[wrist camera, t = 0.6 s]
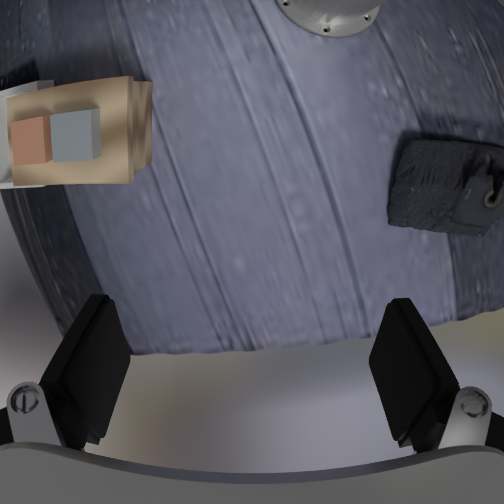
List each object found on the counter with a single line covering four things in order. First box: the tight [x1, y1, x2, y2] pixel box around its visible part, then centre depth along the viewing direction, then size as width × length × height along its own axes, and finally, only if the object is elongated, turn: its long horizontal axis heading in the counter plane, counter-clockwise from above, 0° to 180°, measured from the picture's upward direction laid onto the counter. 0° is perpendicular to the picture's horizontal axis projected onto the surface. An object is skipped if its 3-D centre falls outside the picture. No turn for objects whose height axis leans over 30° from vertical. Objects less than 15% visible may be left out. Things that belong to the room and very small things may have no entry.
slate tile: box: [50, 108, 102, 162], centre depth 26 cm, size 5×5×2 cm
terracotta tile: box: [10, 114, 53, 166], centre depth 26 cm, size 5×5×2 cm
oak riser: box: [6, 76, 153, 186], centre depth 30 cm, size 11×16×8 cm, turn 86°
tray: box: [0, 80, 54, 189], centre depth 32 cm, size 14×10×4 cm
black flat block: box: [388, 138, 504, 237], centre depth 36 cm, size 15×22×5 cm
